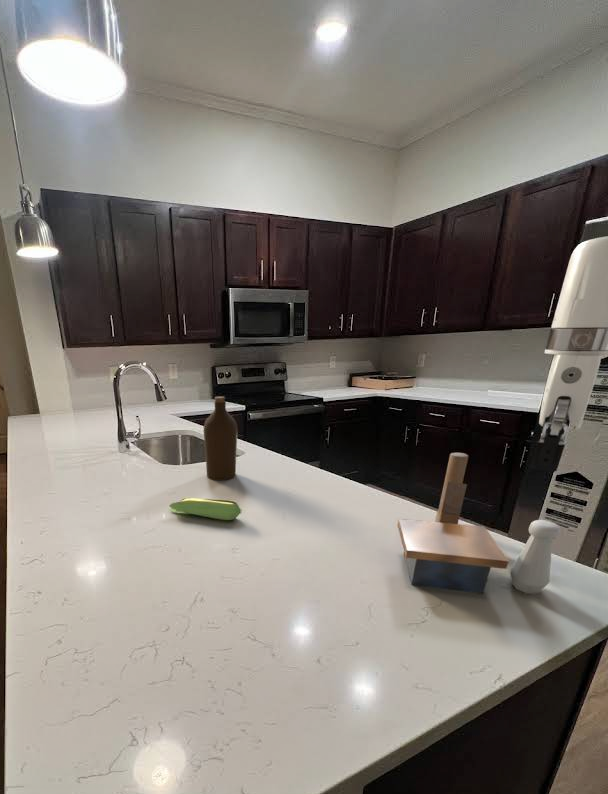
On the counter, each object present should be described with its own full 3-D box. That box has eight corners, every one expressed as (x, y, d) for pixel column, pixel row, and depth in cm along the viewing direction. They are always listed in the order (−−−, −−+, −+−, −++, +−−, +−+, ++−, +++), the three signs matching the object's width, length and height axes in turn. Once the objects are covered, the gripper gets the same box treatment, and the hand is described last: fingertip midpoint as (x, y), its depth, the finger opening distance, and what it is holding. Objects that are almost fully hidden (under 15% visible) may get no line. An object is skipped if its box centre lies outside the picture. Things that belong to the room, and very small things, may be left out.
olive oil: (212, 482, 130) (210, 400, 120) (200, 473, 139) (197, 396, 129) (243, 477, 134) (243, 398, 124) (229, 468, 143) (228, 393, 133)
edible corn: (237, 524, 102) (238, 507, 100) (164, 514, 108) (163, 498, 106) (244, 516, 107) (244, 500, 105) (173, 507, 113) (171, 491, 111)
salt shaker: (526, 577, 79) (547, 514, 74) (553, 594, 74) (577, 528, 69) (499, 580, 78) (518, 517, 73) (524, 598, 73) (546, 531, 68)
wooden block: (434, 542, 93) (451, 464, 85) (434, 523, 102) (449, 451, 94) (453, 545, 91) (471, 466, 84) (451, 525, 100) (468, 452, 93)
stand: (475, 559, 86) (484, 526, 83) (497, 598, 73) (508, 561, 70) (392, 550, 90) (398, 518, 87) (400, 586, 77) (407, 550, 74)
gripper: (622, 345, 49) (575, 481, 56) (611, 340, 62) (574, 453, 69) (544, 344, 54) (509, 472, 60) (549, 340, 66) (520, 446, 73)
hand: (544, 461), depth 65 cm, fingers open, 9 cm apart
